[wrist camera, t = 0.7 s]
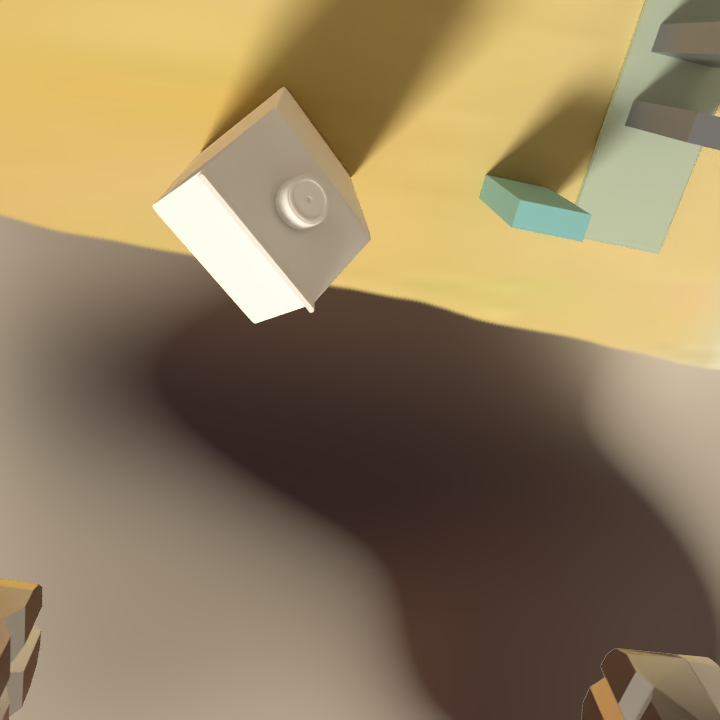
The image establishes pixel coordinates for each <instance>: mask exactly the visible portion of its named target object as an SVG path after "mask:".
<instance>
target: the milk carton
mask: <svg viewBox="0 0 720 720" xmlns="http://www.w3.org/2000/svg"><path fill="white" fill-rule="evenodd" d="M152 207H153V209H154V210H155V211H156V212H157V214H158V215H159V216H160V217H161V218H162V219H163V221H164V222H165V223H166V224H167V225H168V226H169V227H170V229H171V230H172V231H173V232H174V233H175V234H176V235H177V237H178V238H179V239H180V240H181V241H182V242H183V243H184V245H185V246H186V247H187V248H188V249H189V250H190V251H191V253H192V254H193V255H194V256H195V257H196V258H197V259H198V260H199V262H200V263H201V264H202V265H203V266H204V267H205V269H206V270H207V271H208V272H209V273H210V274H211V275H212V277H213V278H214V279H215V280H216V281H217V282H218V283H219V284H220V286H221V287H222V288H223V289H224V290H225V291H226V293H227V294H228V295H230V297H231V298H232V299H233V301H234V302H235V303H236V304H237V305H238V306H239V307H240V308H241V310H242V311H243V312H244V313H245V314H246V315H247V316H248V317H249V319H250V320H251V321H252V322H253V323H258V322H261V321H264V320H267V319H270V318H273V317H276V316H279V315H282V314H284V313H287V312H290V311H293V310H296V309H299V308H302V307H306V308H307V309H308V310H309V312H310V313H312V312H313V311H314V302H315V301H316V300H317V299H318V298H319V296H320V295H321V294H322V293H323V292H324V291H325V290H326V289H327V288H328V286H329V285H330V284H331V283H332V282H333V281H334V280H335V279H336V278H337V276H338V275H339V274H340V273H341V272H342V271H343V270H344V269H345V267H346V266H347V265H348V264H349V263H350V262H351V261H352V260H353V259H354V257H355V256H356V255H357V254H358V253H359V252H360V251H361V250H362V249H363V247H364V246H365V245H366V244H367V243H368V242H369V241H370V233H369V230H368V227H367V224H366V221H365V218H364V215H363V212H362V209H361V206H360V203H359V201H358V198H357V195H356V192H355V189H354V186H353V183H352V180H351V178H350V176H349V174H348V173H347V171H346V170H345V169H344V167H343V166H342V164H341V163H340V162H339V160H338V159H337V158H336V156H335V155H334V153H333V152H332V151H331V149H330V148H329V146H328V145H327V144H326V142H325V141H324V140H323V138H322V137H321V135H320V134H319V133H318V131H317V130H316V128H315V127H314V126H313V124H312V123H311V122H310V120H309V119H308V117H307V116H306V115H305V113H304V112H303V110H302V109H301V108H300V106H299V105H298V104H297V102H296V101H295V99H294V98H293V97H292V95H291V94H290V93H289V91H288V90H287V89H286V88H285V87H282V88H280V89H279V90H278V91H277V92H275V93H274V94H273V95H272V96H270V97H269V98H268V99H267V100H266V101H264V102H263V103H262V104H261V105H259V106H258V107H257V108H256V109H254V110H253V111H252V112H251V113H249V114H248V115H247V116H246V117H244V118H243V119H242V120H241V121H240V122H238V123H237V124H236V125H235V126H233V127H232V128H231V129H230V130H228V131H227V132H226V133H225V134H223V135H222V136H221V137H220V138H218V139H217V140H216V141H215V142H213V143H212V144H211V145H210V146H209V147H207V148H206V149H205V150H204V151H202V152H201V153H200V154H199V155H198V156H197V157H196V158H195V159H194V160H193V161H192V162H191V163H190V165H189V166H188V167H187V168H186V169H185V170H184V171H183V172H182V173H181V175H180V176H179V177H178V178H177V179H176V180H175V181H174V182H173V183H172V185H171V186H170V187H169V188H168V189H167V190H166V191H165V192H164V193H163V195H162V196H161V197H160V198H159V199H158V200H157V201H156V202H155V204H154V205H152Z"/></svg>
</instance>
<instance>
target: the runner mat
mask: <svg viewBox="0 0 720 720" xmlns="http://www.w3.org/2000/svg"><path fill="white" fill-rule="evenodd" d="M700 22H720V0H645V2H644V5H643V8H642V11H641V14H640V17H639V20H638V23H637V26H636V29H635V32H634V34H633V37H632V40H631V43H630V46H629V49H628V52H627V55H626V58H625V61H624V64H623V67H622V69H621V72H620V75H619V78H618V81H617V84H616V87H615V90H614V93H613V96H612V99H611V102H610V104H609V107H608V110H607V113H606V116H605V119H604V122H603V125H602V128H601V131H600V134H599V137H598V140H597V142H596V145H595V148H594V151H593V154H592V157H591V160H590V163H589V166H588V169H587V172H586V175H585V177H584V180H583V183H582V186H581V189H580V192H579V195H578V198H577V201H576V204H575V205H576V206H578V207H580V208H581V209H583V210H585V211H586V212H588V213H590V214H591V215H592V216H591V219H590V222H589V225H588V228H587V230H586V233H585V236H584V239H587V240H592V241H597V242H602V243H607V244H612V245H617V246H622V247H627V248H632V249H636V250H641V251H646V252H651V253H656V254H659V251H660V249H661V246H662V244H663V241H664V239H665V236H666V234H667V231H668V229H669V226H670V224H671V221H672V219H673V217H674V214H675V212H676V209H677V207H678V204H679V202H680V199H681V197H682V194H683V192H684V189H685V187H686V184H687V182H688V179H689V177H690V174H691V172H692V169H693V167H694V165H695V162H696V160H697V157H698V155H699V152H700V150H701V147H702V146H700V145H696V144H692V143H687V142H683V141H680V140H676V139H672V138H669V137H665V136H661V135H658V134H654V133H650V132H647V131H643V130H639V129H636V128H632V127H628V126H625V123H626V120H627V118H628V115H629V112H630V109H631V106H632V104H633V101H634V100H636V101H642V102H647V103H652V104H658V105H663V106H669V107H674V108H679V109H685V110H690V111H695V112H700V113H704V114H708V115H713V116H714V115H715V113H716V110H717V108H718V105H719V103H720V68H713V67H709V66H705V65H701V64H697V63H693V62H689V61H685V60H681V59H677V58H673V57H669V56H666V55H662V54H658V53H654V52H651V50H652V47H653V44H654V42H655V39H656V36H657V33H658V30H659V28H660V25H661V24H675V23H700Z"/></svg>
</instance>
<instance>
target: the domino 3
mask: <svg viewBox="0 0 720 720" xmlns="http://www.w3.org/2000/svg"><path fill="white" fill-rule="evenodd" d="M625 126H628V127H632V128H636V129H639V130H643V131H647V132H650V133H654V134H658V135H661V136H665V137H669V138H672V139H676V140H680V141H683V142H687V143H692V144H696V145H700V146H704V147H709V148H713V149H717V150H720V117H717V116H713V115H708V114H704V113H700V112H695V111H690V110H685V109H679V108H674V107H669V106H663V105H658V104H652V103H647V102H642V101H636V100H634V101H633V104H632V106H631V109H630V112H629V115H628V118H627V120H626V123H625Z"/></svg>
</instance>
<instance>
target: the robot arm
mask: <svg viewBox="0 0 720 720" xmlns="http://www.w3.org/2000/svg"><path fill="white" fill-rule="evenodd" d="M41 608H42V586H41V585H39V584H35V583H28V582H21V581H13V580H6V579H0V720H9V717H10V716H11V715H12V714H13V713H15V712H16V711H18V710H19V709H20V708H22V706H23V703H24V701H25V698H26V696H27V694H28V691H29V688H30V686H31V683H32V679H33V675H34V672H35V669H36V665H37V661H38V655H39V650H40V641H41V631H40V630H39V628H38V627H37V626H36V625H35V624H34V623H35V621H36V619H37V617H38V615H39V612H40V610H41ZM601 669H602V671H603V674H604V677H605V678H603V679H602V680H600V681H599V682H597V683H596V684H594V685H593V686H591V687H590V688H589V691H588V693H587V695H586V697H585V699H584V702H583V706H582V720H720V667H719V666H718V665H717V664H716V663H715V662H713V661H712V660H711V659H710V658H707V657H697V656H687V655H673V654H667V653H657V652H648V651H638V650H628V649H618V648H615V649H614V650H612V651H611V652H609V653H608V654H607V655H606V657H605V659H604V661H603V663H602V665H601Z"/></svg>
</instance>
